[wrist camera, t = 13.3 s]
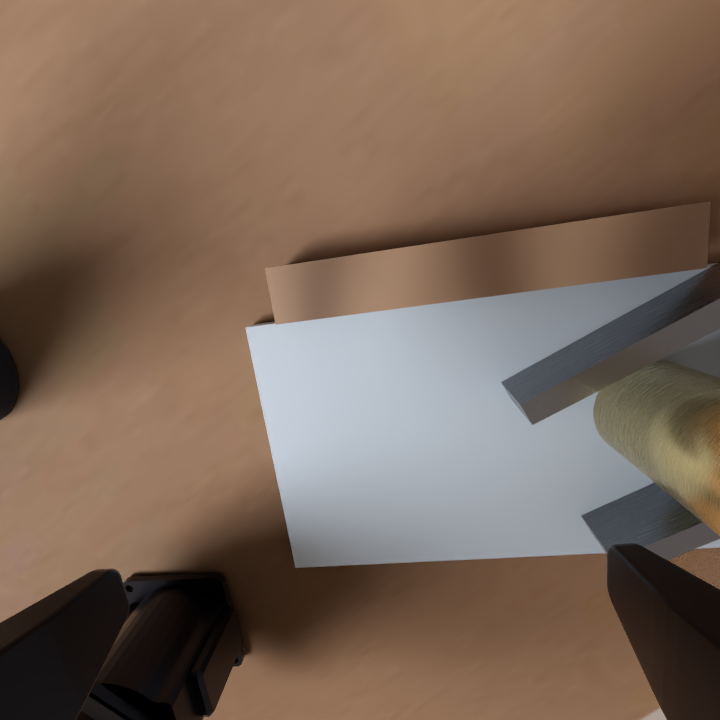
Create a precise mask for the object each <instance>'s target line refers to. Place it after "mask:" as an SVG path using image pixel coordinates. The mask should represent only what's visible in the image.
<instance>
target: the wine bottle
mask: <svg viewBox="0 0 720 720" xmlns="http://www.w3.org/2000/svg"><path fill="white" fill-rule="evenodd" d="M18 387H19V386H18V378H17V371H16V367H15V365H14V363H13V360H12V358H11V356H10V353H9V351H8V350H7V349H6V347H5V346H4V345H3V344H2V342H1V341H0V419H1V418H3V417H4V416H6V415H7V414H8V413H9V411H10V410H11V408H12V407H13V405H14V403H15V402H16V397H17V392H18Z"/></svg>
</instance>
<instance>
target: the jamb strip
mask: <svg viewBox="0 0 720 720" xmlns="http://www.w3.org/2000/svg"><path fill="white" fill-rule="evenodd" d="M710 206H711V201H707V202H701V203H694V204H687V205H681V206H674V207H668V208H661V209H654V210H648V211H641V212H635V213H628V214H621V215H615V216H608V217H601V218H595V219H588V220H582V221H575V222H568V223H562V224H555V225H548V226H542V227H535V228H529V229H522V230H515V231H509V232H502V233H496V234H489V235H482V236H476V237H469V238H462V239H456V240H449V241H443V242H436V243H429V244H423V245H416V246H409V247H403V248H396V249H390V250H383V251H376V252H370V253H363V254H357V255H350V256H343V257H337V258H330V259H323V260H317V261H310V262H304V263H297V264H290V265H284V266H277V267H270V268H265V272H266V277H267V282H268V288H269V293H270V298H271V303H272V309H273V314H274V319H275V324H276V325H277V324H285V323H293V322H300V321H308V320H316V319H323V318H331V317H338V316H346V315H354V314H361V313H369V312H376V311H384V310H392V309H399V308H407V307H415V306H422V305H430V304H437V303H445V302H453V301H460V300H468V299H475V298H483V297H491V296H498V295H506V294H514V293H521V292H529V291H536V290H544V289H552V288H559V287H567V286H575V285H582V284H590V283H597V282H605V281H613V280H620V279H628V278H635V277H643V276H651V275H658V274H666V273H674V272H681V271H689V270H696V269H704V268H707V263H708V244H709V225H710Z"/></svg>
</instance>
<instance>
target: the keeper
mask: <svg viewBox="0 0 720 720" xmlns="http://www.w3.org/2000/svg"><path fill="white" fill-rule="evenodd" d="M718 329H720V262H718V263H717V264H715V265H713V266H711V267H709V268H707V269H706V270H704V271H702V272H700V273H698V274H697V275H695V276H693V277H691V278H689V279H688V280H686V281H684V282H682V283H680V284H678V285H677V286H675V287H673V288H671V289H669V290H668V291H666V292H664V293H662V294H660V295H658V296H657V297H655V298H653V299H651V300H649V301H648V302H646V303H644V304H642V305H640V306H638V307H637V308H635V309H633V310H631V311H629V312H628V313H626V314H624V315H622V316H620V317H618V318H617V319H615V320H613V321H611V322H609V323H608V324H606V325H604V326H602V327H600V328H598V329H597V330H595V331H593V332H591V333H589V334H588V335H586V336H584V337H582V338H580V339H578V340H577V341H575V342H573V343H571V344H569V345H568V346H566V347H564V348H562V349H560V350H558V351H557V352H555V353H553V354H551V355H549V356H548V357H546V358H544V359H542V360H540V361H538V362H537V363H535V364H533V365H531V366H529V367H528V368H526V369H524V370H522V371H520V372H518V373H517V374H515V375H513V376H511V377H509V378H508V379H506V380H504V381H502V382H501V383H502V385H503V387H504V388H505V390H506V392H507V393H508V395H509V397H510V398H511V400H512V401H513V402H514V403H515V405H516V406H517V407H518V408H519V410H520V411H521V412H522V413H523V414H524V416H525V417H526V418H527V419H528V420H529V422H530V423H531V424H532V425H534V424H536V423H538V422H540V421H542V420H544V419H546V418H547V417H549V416H551V415H553V414H555V413H557V412H559V411H561V410H563V409H565V408H567V407H569V406H571V405H573V404H575V403H577V402H579V401H580V400H582V399H584V398H586V397H588V396H590V395H592V394H594V393H596V392H598V391H600V390H602V389H604V388H606V387H608V386H610V385H612V384H613V383H615V382H617V381H619V380H621V379H623V378H625V377H627V376H629V375H631V374H633V373H635V372H637V371H639V370H641V369H643V368H645V367H646V366H648V365H650V364H652V363H654V362H656V361H658V360H660V359H662V358H664V357H666V356H668V355H670V354H672V353H674V352H676V351H677V350H679V349H681V348H683V347H685V346H687V345H689V344H691V343H693V342H695V341H697V340H699V339H701V338H703V337H705V336H707V335H709V334H710V333H712V332H714V331H716V330H718ZM581 516H582V518H583V520H584V521H585V523H586V525H587V526H588V528H589V530H590V531H591V533H592V534H593V535H594V537H595V538H596V540H597V541H598V542H599V544H600V545H601V547H602V548H603V549H604V551H605V552H606V554H607V551H608V547H609V546H610V545H611V544H617V543H637V544H639V545H641V546H643V547H645V548H647V549H648V550H650V551H652V552H654V553H655V554H657V555H659V556H661V557H663V558H664V559H666V560H669V559H671V558H674V557H676V556H679V555H681V554H684V553H686V552H689V551H691V550H693V549H696V548H698V547H701V546H703V545H706V544H708V543H711V542H713V541H716V540H718V539H720V536H719V535H718V534H717V533H715V532H714V531H713V530H712V529H710V528H709V527H708V526H707V525H706V524H704V523H703V522H702V521H701V520H700V519H698V518H697V517H696V516H695V515H693V514H692V513H691V512H690V511H689V510H687V509H686V508H685V507H684V506H682V505H681V504H680V503H679V502H678V501H676V500H675V499H674V498H673V497H671V496H670V495H669V494H668V493H667V492H665V491H664V490H663V489H662V488H661V487H659V486H658V485H657V484H656V483H652V484H650V485H648V486H645V487H643V488H641V489H639V490H637V491H634V492H632V493H630V494H628V495H625V496H623V497H621V498H619V499H617V500H614V501H612V502H610V503H608V504H605V505H603V506H601V507H599V508H597V509H594V510H592V511H590V512H588V513H585V514H583V515H581Z"/></svg>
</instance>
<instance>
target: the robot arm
mask: <svg viewBox="0 0 720 720" xmlns="http://www.w3.org/2000/svg"><path fill="white" fill-rule="evenodd" d="M216 582H217V583H216ZM607 587H608V592H609V596H610V599H611V601H612V604H613V606H614V608H615V610H616V612H617V615H618V617H619V619H620V621H621V623H622V625H623V628H624V630H625V632H626V634H627V636H628V639H629V641H630V643H631V645H632V647H633V649H634V652H635V654H636V656H637V658H638V660H639V662H640V665H641V667H642V669H643V671H644V673H645V675H646V678H647V680H648V682H649V684H650V686H651V688H652V691H653V693H654V695H655V697H656V699H657V701H658V703H659V705H660V707H661V709H662V711H663V713H664V715H665V717H666V718H667V720H720V590H719V589H717V588H716V587H714V586H712V585H710V584H709V583H707V582H705V581H703V580H702V579H700V578H698V577H696V576H694V575H693V574H691V573H689V572H687V571H686V570H684V569H682V568H680V567H679V566H677V565H675V564H673V563H671V562H670V561H668V560H666V559H664V558H663V557H661V556H659V555H657V554H655V553H654V552H652V551H650V550H648V549H647V548H645V547H643V546H641V545H639V544H637V543H617V544H611V545H610V546H609V547H608V551H607ZM242 643H243V641H242V637H241V633H240V629H239V625H238V621H237V617H236V613H235V610H234V608H233V606H232V602H231V599H230V595H229V591H228V587H227V583H226V579H225V577H224V576H223V575H222V574H220V573H199V574H178V575H157V576H136V577H129V578H127V579H126V581H125V582H124V583H123V581H122V578H121V575H120V573H119V572H118V571H117V570H116V569H98V570H94V571H91V572H89V573H88V574H86V575H84V576H82V577H81V578H79V579H77V580H75V581H74V582H72V583H70V584H68V585H66V586H65V587H63V588H61V589H59V590H58V591H56V592H54V593H52V594H51V595H49V596H47V597H45V598H44V599H42V600H40V601H38V602H36V603H35V604H33V605H31V606H29V607H28V608H26V609H24V610H22V611H21V612H19V613H17V614H15V615H14V616H12V617H10V618H8V619H7V620H5V621H3V622H1V623H0V720H203V718H204V717H209V716H211V714H212V713H213V712H214V710H215V708H216V706H217V703H218V701H219V698H220V696H221V694H222V691H223V689H224V686H225V684H226V682H227V679H228V677H229V674H230V672H231V670H232V667H233V666H239V665H241V663H242V661H243V659H244V656H245V653H244V649H243V645H242Z"/></svg>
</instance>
